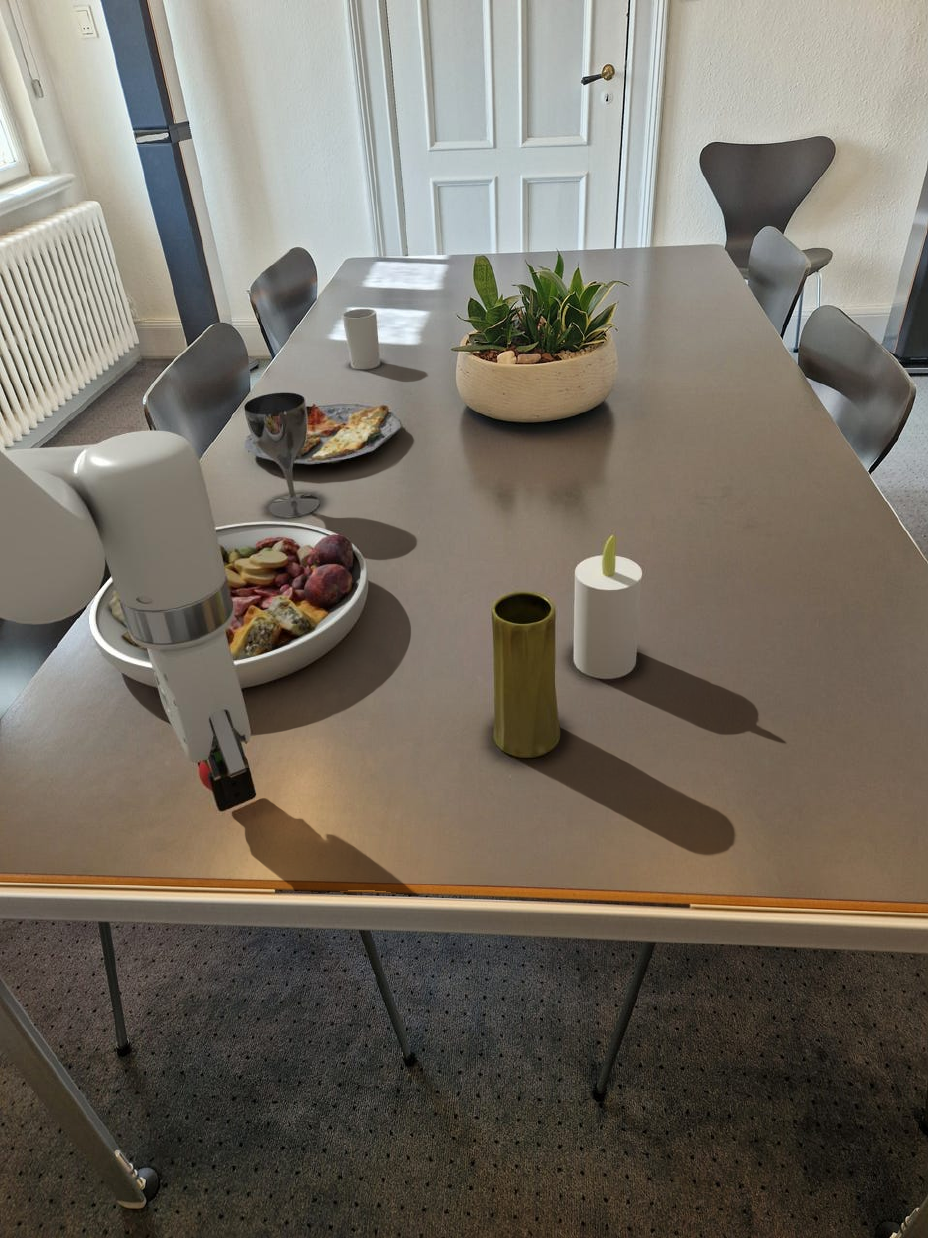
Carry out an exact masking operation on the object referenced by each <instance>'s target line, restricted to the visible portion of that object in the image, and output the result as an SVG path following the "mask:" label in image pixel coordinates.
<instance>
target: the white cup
mask: <svg viewBox="0 0 928 1238" xmlns="http://www.w3.org/2000/svg"><path fill="white" fill-rule="evenodd" d="M341 316H342V322H343V328H344V332H345V338H346V343H347V344H346V345H347V349H348V354H349V355H348V356H349V359H350V367H351V368H353V369H355V370H371V369H375V368H377V367H379V366H380V365H381V358H380V346H379V345H380V344H379V332H378V331H379V330H378V319H377V311H376V310H375V309H371V308H356V309H351V310H348V311H345V312H343V313H342V314H341ZM376 361H377V362H376ZM353 363H354V364H353Z"/></svg>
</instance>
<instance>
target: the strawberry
mask: <svg viewBox="0 0 928 1238" xmlns="http://www.w3.org/2000/svg"><path fill="white" fill-rule="evenodd" d="M214 756H215V759H216V763H217V762H218V761H219V760H222V759H223V758H222V755H221V753H220V751H217V752H215V753H214ZM245 757H246V759H247V761H248V762H249V760H248V757H247V756H246V755H245ZM208 773H210V768H209V765H208V762H207V759H205V760H202V761H201V762H200V766H199V767H198V775H199V778H200V781H201V783H202V785H203V786H204V787H205V788H206V789H208V790H209V791H211V792H212V789H211V785H210V782H209V778H208V775H207V774H208Z"/></svg>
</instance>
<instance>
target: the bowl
mask: <svg viewBox="0 0 928 1238" xmlns="http://www.w3.org/2000/svg"><path fill="white" fill-rule="evenodd" d="M215 529H216V533H217V537H218V541H219V546H220V550H221V554H222V558H223V563H224V568H225V572H226V576H227V581H228V585H229V589H230V593H231V598H232V602H233V605H234V610H235V614H234V619H233V620H232V622H231V624H230V625H229V626H228V628H227V629H225V633H226V636H227V640H228V643H229V647H230V650H231V653H232V655H233V661H234V665H235V668H236V672H237V676H238V679H239V683H240V687H241V690H242V689H246V688H251V687H256V686H259V685H263V684H266V683H269V682H272V681H274V680H278V679H280V678H283V677H286V676H288V675H290V674H293V673H295V672H297V671H299V670H301V669H304V668H306V667H307V666H309V665H310V664H312V663H313V662H316V661H317V660H318V659H320V658H321V657H323V656H325V655H326V654H327V653H328V652H330V651H331V650H332V649H333V648H335V647H336V646H337V645H338V644H339V643H340V642H341V641H342V640H343V639H344V638H345V637H346V636H347V635H348V634H349V633H350V631H351V630H352V629H353V627H354V626H355V625H356V623H357V621H358V620H359V618H360V616H361V614H362V612H363V610H364V607H365V605H366V601H367V597H368V592H369V575H368V567H367V563H366V560H365V558H364V556H363V554H362V553H361V551H360V550H359V548H357V546H356V545H355V544H354V543H352V540H350V539H349V537H346V536H345V535H342V534H340V533H339V534H338V533H336V532H334V531H331V530H329V529H326V528H324V527H320V526H316V525H311V524H307V523H306V524H305V523H299V522H292V521H291V522H290V521H250V522H241V523H233V524H227V525H221V526H215ZM94 597H95V598H93V601H92V603H91V606H90V609H89V616H88V625H89V626H88V627H89V630H90V633H91V636H92V638H93V640H94V643H95V646H96V647H97V648H98V651H99V652H100V653H101V654H102V656H103V657H104V658H105V660H106V661H107V662H108V663H109V664H110V665H111V666H113V668H114V669H116V670H117V671H119V673H122V674H123V675H125V676H126V677H128V678H130V679H132V680H134V681H136V682H137V683H141V684H144V685H147V686H150V687H153V688H156V689H158V686H157V682H156V679H155V675H154V671H153V668H152V665H151V661H150V657H149V654H148V650H147V648H144V647H142V646H140V645H138V644H136V643H135V642H134V641H133V640H132V638H131V636H130V634H129V630H128V627H127V624H126V621H125V618H124V615H123V612H122V609H121V606H120V603H119V599H118V596H117V593H116V590H115V586H114V583H113V580H112V577H111V576H110V578H109V579H108V580H107V581H106V582H105V583H104V585H102V587H101V588H100V589H99V590H98V591H97V593H96V595H95V596H94Z"/></svg>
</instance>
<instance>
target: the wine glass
mask: <svg viewBox="0 0 928 1238" xmlns="http://www.w3.org/2000/svg"><path fill="white" fill-rule="evenodd" d="M306 407H307V405H306V399H305V397H304V396H303V395H301V394H299V393H295V392H274V393H273V392H272V393H267V394H263V395H260V396H256V397H254V398H252V399H250V400H248V401H247V402H246V403H245V404H244V406H243V409H244V415H245V419H246V422H247V426H248V429H249V433H250V434H251V435H252V437H253V439H254V441H255V443H256V445H257V446H258V448H259V449H260V450H261V451H262V452H263V453H264V454H266V455H267V456H269V457H270V458H271V459H273V460H272V461H273V462H275V463H276V464H277V465H278V466H279V468H280V469H281V470H282V472H283V473H282V474H283V475H284V478H285V481H286V486H287V489H288V495H285V496H281V497H279V498H277V499H275V500H274V501H273V502H271V503H270V505H269V507H268V511H269V513H270V514H271V515H272V516H276V517H279V518H296V517H302V516H305V515H307V514H310V513H313V512H314V511H316V509H318V508H319V506H320V504H321V503H320V502H321V501H320V500H319V498H318V497H317V496H315V495H313V494H308V493H296V492H295V491H296V490H295V486H294V479H293V468H294V464H295V463H294V461H295V459H296V457H297V456H298V454H299V453H300V451H301V450H302V448H303V447H304V445H305V443H306V440H307V433H308V417H307V409H306Z"/></svg>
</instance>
